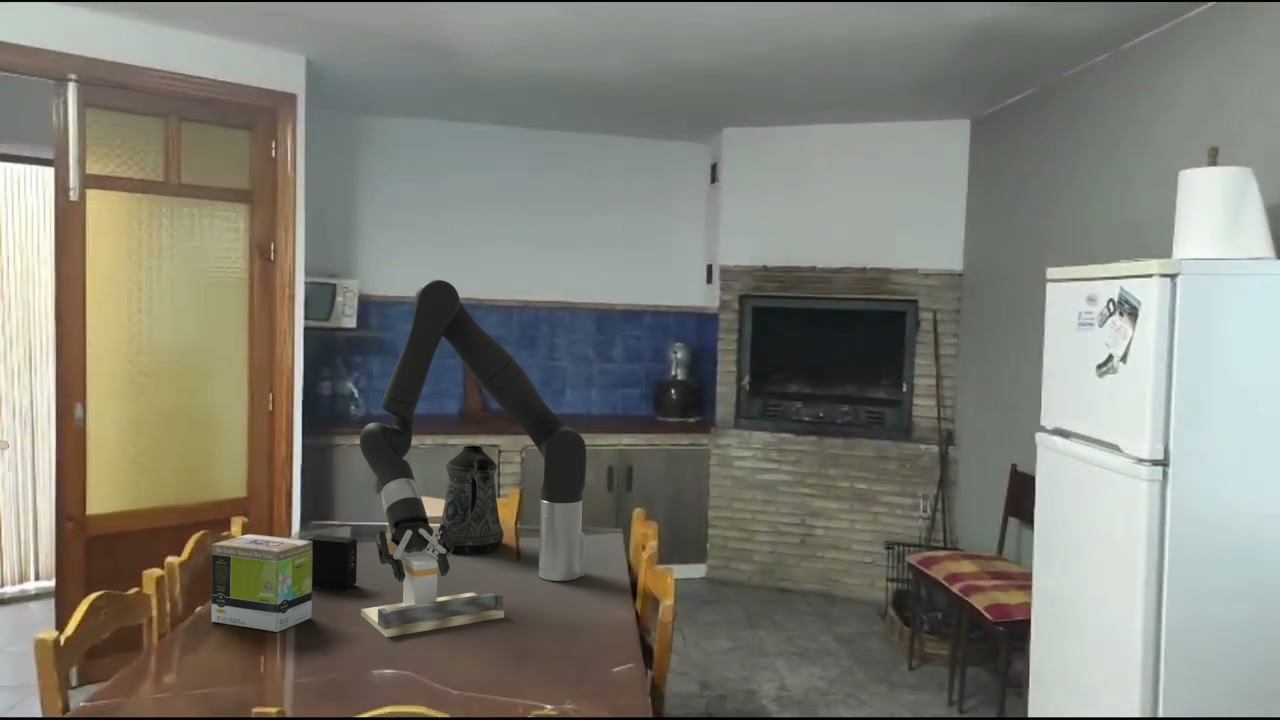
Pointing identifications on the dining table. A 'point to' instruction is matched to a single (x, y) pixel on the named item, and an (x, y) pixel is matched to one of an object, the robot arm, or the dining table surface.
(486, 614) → the mount board
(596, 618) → the dining table surface
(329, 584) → the electronic device
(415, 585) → the module
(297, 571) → the tea box
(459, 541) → the beer stein
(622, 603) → the dining table surface
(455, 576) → the dining table surface
